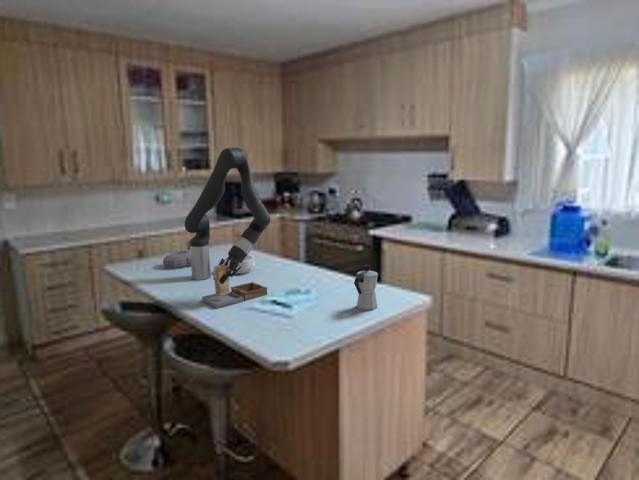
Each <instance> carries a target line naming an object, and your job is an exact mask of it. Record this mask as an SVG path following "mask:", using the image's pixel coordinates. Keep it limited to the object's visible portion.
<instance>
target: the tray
mask: <svg viewBox="0 0 639 480" xmlns="http://www.w3.org/2000/svg"><path fill="white" fill-rule="evenodd" d="M201 302H203V303H204V304H206V305H209V306H211V307H213V309H217V310H218V309H221V308H225V307H228V306H233V305H237V304H240V303H243V302H245V300H244V297H242V296H239V295H237V294H235V293H233V292H231V291H230V293H229V294H224V295H218V294H216V293H212V294H208V295H205V296H201Z"/></svg>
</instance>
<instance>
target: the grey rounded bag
mask: <svg viewBox="0 0 639 480" xmlns="http://www.w3.org/2000/svg"><path fill="white" fill-rule="evenodd" d="M162 263H163V265H164V268H165V269H169V270H170V269H171V270H172V269H174V270H176V269H184V268H183V267H186V268H190V267H191V253H190V251H189V250H186V249H185V250H180V251H177V252H176V251H175V252H172V253H170V254H168V255H166V256H165V257H164V258H163V260H162ZM189 266H190V267H189ZM175 268H176V269H175Z"/></svg>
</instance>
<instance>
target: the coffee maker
mask: <svg viewBox="0 0 639 480" xmlns="http://www.w3.org/2000/svg"><path fill="white" fill-rule="evenodd" d="M363 266H364V270H361V271H358V272H356V277H355V279H354V283H353V284H354V286H355V288H356V292H357V293H358V296H357V297H358V298H357V302H356V307H357V309H358V310H362V311H374V310H376V309H378V303H377V296H376V294H377V293H376V292H375V290H376V288H377V281H378V277H379V273H378V272H376V271H373V270H371V269H370V268H371V265H370V264H364V265H363Z"/></svg>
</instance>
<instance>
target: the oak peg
mask: <svg viewBox="0 0 639 480" xmlns="http://www.w3.org/2000/svg"><path fill="white" fill-rule="evenodd" d="M227 267H228V266H226V265H219V264H218V265H214V266H213V273H214V277H213V278H215V280H214V289H215V290H214V291H215V293H214V294H218V295H224V294H229V293H230V292H231V290H230V277H228V278H227V279H226V281H225V282H224V283H223V284H221V283H220V282H219V280H220V279H221V277H222V276H223V274H224V273H225V271H226V268H227ZM224 275H225V274H224Z"/></svg>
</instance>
